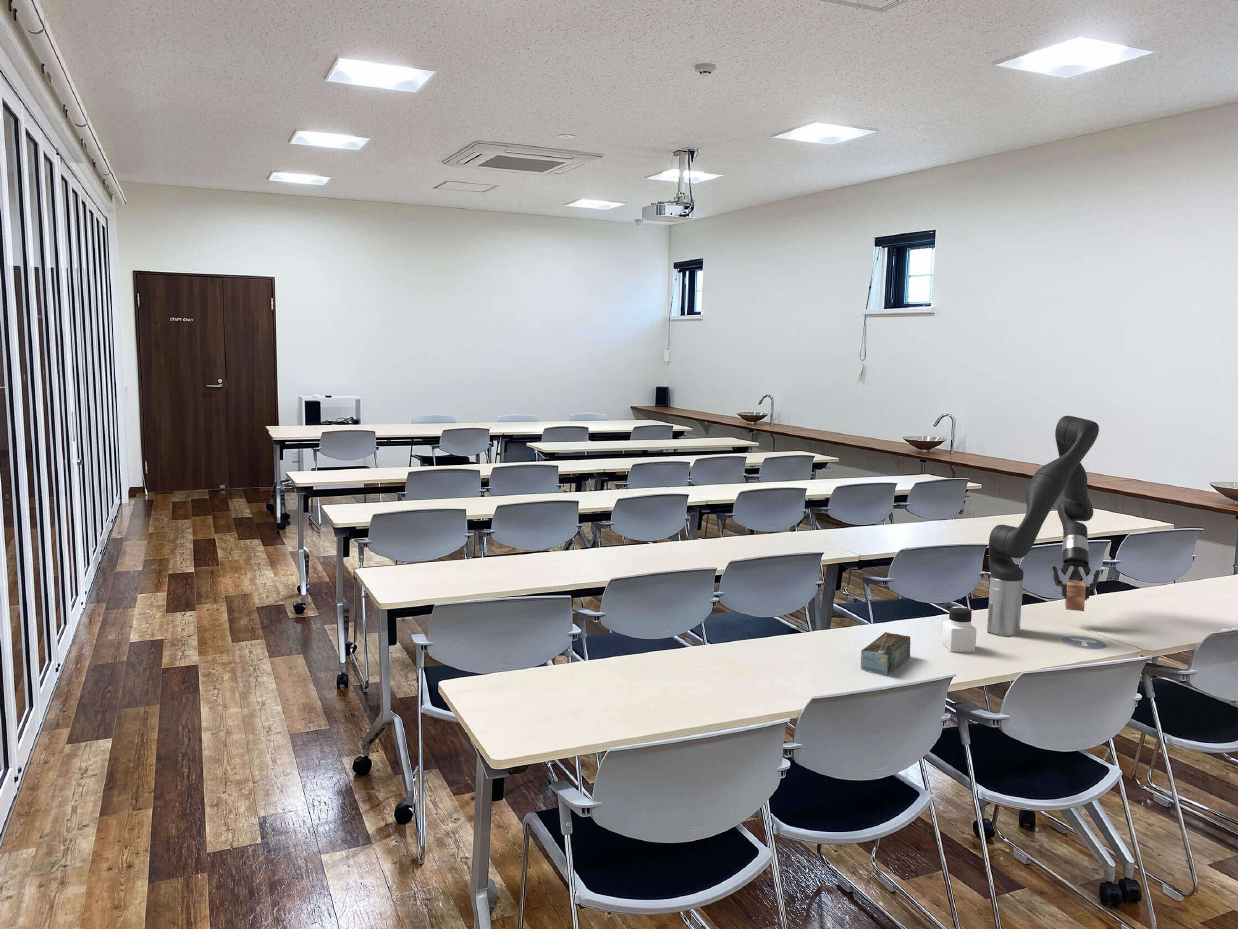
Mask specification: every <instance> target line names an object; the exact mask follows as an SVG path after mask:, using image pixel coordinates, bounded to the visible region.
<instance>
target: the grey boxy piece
mask: <svg viewBox="0 0 1238 929" xmlns="http://www.w3.org/2000/svg"><path fill="white" fill-rule="evenodd" d="M860 655H861V656H860V670H861V669H862V670H861V671H863V670H866V671H865V672H868V671H871V672H870V673H872V672H873V674H877V673H878V674H877V675H881V674H882V675H881V676H885V677H886V676H889V675H890V674H891V673H893V672H894V671H895V670H896V669H897V668H898V667H899V666H901V665H902V664H903V663H904V662H905V661H907V659H909V658H911V636H909V635H903V634H898V633H892V632H886V631H885V632H884V633H882V634H881V635H880V636H878V637H877V638H875V640H874V641H872V642H870V644H868V645H867V646H866V647H864V648H863V649H861V652H860Z"/></svg>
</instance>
